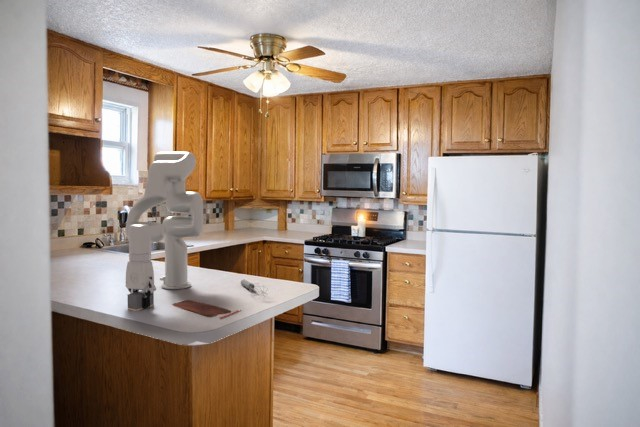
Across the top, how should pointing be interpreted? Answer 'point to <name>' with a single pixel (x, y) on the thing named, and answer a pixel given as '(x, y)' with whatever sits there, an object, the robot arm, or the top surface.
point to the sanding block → (138, 301)
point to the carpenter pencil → (230, 314)
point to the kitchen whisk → (251, 286)
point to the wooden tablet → (201, 308)
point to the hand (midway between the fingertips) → (140, 306)
